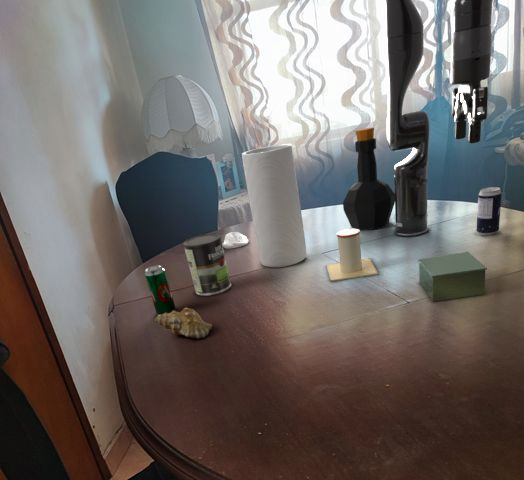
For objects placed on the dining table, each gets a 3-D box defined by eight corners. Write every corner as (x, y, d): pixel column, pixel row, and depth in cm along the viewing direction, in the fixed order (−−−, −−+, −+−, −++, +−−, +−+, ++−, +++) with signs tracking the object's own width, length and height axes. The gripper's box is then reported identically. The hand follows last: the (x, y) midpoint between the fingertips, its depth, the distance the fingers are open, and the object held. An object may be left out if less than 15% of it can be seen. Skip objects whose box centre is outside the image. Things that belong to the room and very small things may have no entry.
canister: (338, 266, 126) (335, 230, 121) (360, 263, 125) (358, 227, 120) (341, 274, 121) (337, 236, 116) (364, 270, 120) (361, 233, 115)
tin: (418, 283, 108) (418, 259, 105) (466, 276, 107) (467, 251, 104) (432, 302, 99) (432, 276, 96) (485, 294, 97) (487, 267, 95)
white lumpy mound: (231, 227, 168) (252, 228, 163) (234, 239, 171) (254, 240, 165) (213, 236, 162) (234, 237, 156) (216, 248, 164) (236, 249, 158)
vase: (313, 251, 142) (300, 141, 127) (297, 268, 131) (280, 150, 116) (271, 252, 149) (254, 147, 133) (252, 269, 138) (231, 156, 123)
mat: (326, 266, 129) (326, 264, 129) (369, 259, 128) (369, 258, 128) (330, 281, 119) (330, 280, 118) (378, 274, 117) (378, 273, 117)
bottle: (363, 217, 167) (357, 126, 153) (404, 219, 156) (402, 121, 141) (336, 230, 158) (327, 135, 144) (377, 233, 147) (372, 131, 132)
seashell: (181, 357, 103) (150, 324, 100) (184, 346, 111) (155, 315, 108) (213, 332, 102) (182, 297, 99) (214, 322, 109) (185, 290, 106)
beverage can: (500, 234, 127) (504, 190, 121) (478, 237, 129) (480, 192, 123) (496, 229, 132) (499, 185, 126) (474, 231, 133) (476, 188, 128)
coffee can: (238, 282, 130) (228, 233, 123) (217, 297, 123) (204, 245, 116) (210, 280, 135) (198, 233, 129) (187, 294, 128) (174, 245, 121)
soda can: (158, 310, 122) (144, 267, 116) (176, 306, 122) (164, 263, 116) (155, 317, 117) (141, 273, 112) (175, 314, 117) (162, 269, 112)
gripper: (441, 61, 101) (439, 140, 109) (464, 57, 89) (460, 147, 97) (476, 54, 101) (472, 134, 108) (504, 49, 88) (497, 140, 96)
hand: (467, 140), depth 103 cm, fingers open, 8 cm apart
